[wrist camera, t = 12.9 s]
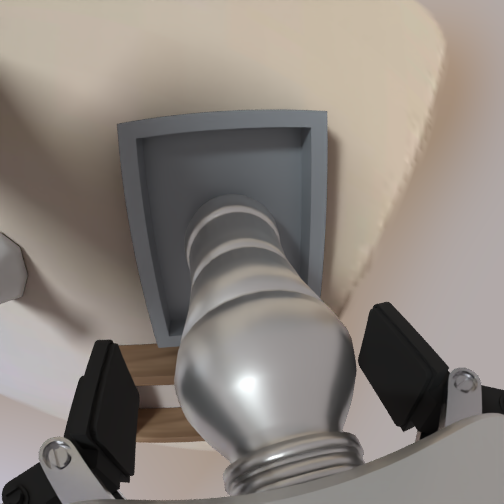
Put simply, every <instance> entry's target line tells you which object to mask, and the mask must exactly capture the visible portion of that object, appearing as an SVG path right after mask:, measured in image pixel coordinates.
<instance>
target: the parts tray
mask: <svg viewBox="0 0 504 504" xmlns="http://www.w3.org/2000/svg"><path fill="white" fill-rule="evenodd" d="M117 130H118V142H119V153H120V162H121V171H122V179H123V187H124V194H125V201H126V207H127V214H128V220H129V226H130V231H131V237H132V242H133V247H134V252H135V257H136V262H137V267H138V271H139V276H140V280H141V285H142V289H143V293H144V297H145V301H146V305H147V309H148V313H149V317H150V320H151V324H152V328H153V331H154V335H155V338H156V342H157V345H158V348H164V347H178V346H180V342H181V338H182V334H183V330H184V326H185V323H186V319H187V315H188V311H189V303H190V296H191V286H192V283H191V275H190V269H189V266H188V263H187V259H186V254H185V249H184V239H185V233H186V230H187V227H188V225H189V222H190V221H191V219H192V218H193V216H194V215H195V213H196V212H197V211H198V209H199V208H200V207H201V206H202V205H204V204H205V203H206V202H208V201H209V200H211V199H213V198H215V197H218V196H221V195H226V194H239V195H244V196H247V197H249V198H252V199H254V200H256V201H258V202H259V203H261V204H262V205H263V206H265V207H266V209H267V210H268V211H269V212H270V213H271V215H272V216H273V218H274V220H275V223H276V226H277V229H278V233H279V236H280V244H281V246H282V249H283V251H284V254H285V257H286V258H287V260H288V261H289V263H290V264H291V265H292V267H293V268H294V269H295V271H296V272H297V274H298V275H299V276H300V278H301V279H302V280H303V281H304V282H305V283H306V284H307V285H308V286H309V287H310V288H311V290H312V291H313V292H314V293H315V294H316V295H317V296H318V297H319V298H320V296H321V285H322V272H323V259H324V244H325V226H326V202H327V154H328V137H327V111H312V110H235V111H217V112H204V113H192V114H182V115H173V116H165V117H158V118H150V119H144V120H137V121H131V122H126V123H120V124H117Z"/></svg>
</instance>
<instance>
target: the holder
mask: <svg viewBox="0 0 504 504" xmlns="http://www.w3.org/2000/svg"><path fill="white" fill-rule="evenodd" d="M179 347H180V346H178V347H164V348H158V345H157V344H145V345H121V346H119V348H120V351H121V353H122V356H123V358H124V360H125V363H126V365H127V368H128V370H129V372H130V375H131V377H132V379H133V381H134V384H135V386H150V385H173V384H174V377H175V370H176V361H177V355H178V350H179ZM194 441H205V440H204V439H203V438H202V437H201V435H200V434H199V433H198V432H197V431H196V430H195V429H194V427H193V426H192V425H191V424H190V423H189V422H188V420H187V418H186V417H185V415H184V413H183V411H182V408H181V407H179V408H147V409H138V420H137V433H136V442H148V443H166V442H194Z"/></svg>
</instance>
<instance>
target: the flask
mask: <svg viewBox="0 0 504 504" xmlns="http://www.w3.org/2000/svg"><path fill="white" fill-rule="evenodd" d="M27 276H28V274H27V271H26V268H25V264H24V261H23V257H22V253H21V249H20V247H19V246H18V245H16V244H15V243H14V242H12V241H11V240H10V239H8V238H7V237H6V236H4V235H3V234H2V233H0V304H2V303H4V302H7V301H10V300H13V299H16V298H19V297H22V296H23V292H24V288H25V284H26V280H27Z"/></svg>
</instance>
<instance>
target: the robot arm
mask: <svg viewBox="0 0 504 504" xmlns="http://www.w3.org/2000/svg"><path fill="white" fill-rule="evenodd" d="M358 363H359V366H360V368H361V369H362V371H363V373H364V374H365V376H366V377H367V379H368V381H369V382H370V384H371V385H372V387H373V389H374V390H375V392H376V393H377V395H378V397H379V398H380V400H381V402H382V403H383V405H384V406H385V408H386V410H387V411H388V413H389V415H390V416H391V418H392V420H393V421H394V423H395V424H396V426H399V427H401V429H402V430H403V432H404V431H406V430H408V429H410V428H413V427H414V426H415V427H416V429H417V435H416V440H415V443H413V444H411V445H408V446H406V447H404V448H402V449H400V450H398V451H396V452H393V453H391V454H388V455H386V456H384V457H381V458H379V459H376V460H374V461H371V462H369V463H366V464H363V465H361V466H358V467H355V468H352V469H349V470H346V471H343V472H340V473H337V474H334V475H331V476H327V477H324V478H321V479H317V480H313V481H310V482H306V483H302V484H298V485H293V486H289V487H285V488H280V489H275V490H270V491H264V492H258V493H252V494H246V495H238V496H230V497H221V498H210V499H194V500H127V499H126V498H125V497H124V496H123V495H122V493H121V492H120V491H119V490H118V489H120V482H128V483H129V482H130V476H133V475H134V469H135V468H134V467H135V448H136V433H137V420H138V409H139V393H138V390H137V388H136V386H135V384H134V381H133V379H132V377H131V375H130V372H129V370H128V368H127V365H126V363H125V360H124V358H123V356H122V353H121V351H120V348H119V346H118V344H114V343H113V341H112V340H97V341H96V342H95V344H94V347H93V350H92V353H91V356H90V359H89V362H88V365H87V368H86V371H85V375H84V376H82V377H81V378H80V379H79V382H78V385H77V388H76V392H75V395H74V399H73V402H72V406H71V410H70V413H69V417H68V421H67V425H66V430H65V433H64V438H63V437H53V438H50V439H48V440H47V441H45V442H44V443H43V445H42V446H41V448H40V451H39V461H40V462H39V463H37V464H36V465H34V466H33V467H31V468H30V469H28V470H27V471H25V472H24V473H22V474H20V475H19V476H18V477H16V478H14V479H12V480H11V481H9V482H8V483H7V484H6V485H5V486H4V488H3V491H2V500H3V503H2V504H504V390H501V389H496V388H491V387H487V386H482V385H481V382H480V379H479V377H478V375H477V374H476V373H475V372H473V371H472V370H470V369H467V368H457V369H454V370H453V371H452V372H451V373H450V372H449V371H448V369H449V367H448V366H447V365H446V364H445V362H444V361H443V360H442V359H441V358H440V357H439V356H438V354H437V353H436V352H435V351H434V350H433V349H432V348H431V346H430V345H429V344H428V343H427V342H426V341H425V340H424V339H423V338H422V336H420V334H419V333H418V332H417V331H416V330H415V329H414V328H413V327H412V326H411V325H410V323H409V322H408V321H407V320H406V319H405V318H404V317H403V316H402V315H401V314H400V313H399V312H398V311H397V310H396V309H395V308H394V306H393V305H392V304H391V303H389V302H384V303H380V304H376V305H374V306H373V309H371V310H370V312H369V317H368V321H367V326H366V330H365V334H364V338H363V342H362V346H361V350H360V354H359V357H358Z"/></svg>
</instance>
